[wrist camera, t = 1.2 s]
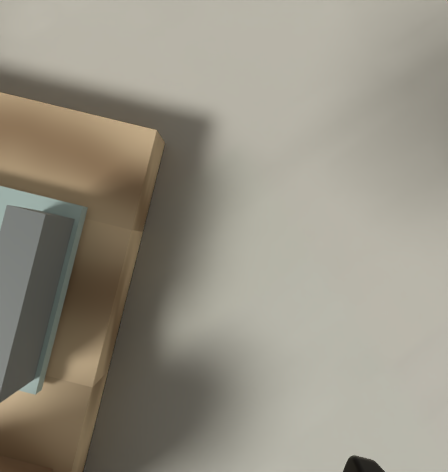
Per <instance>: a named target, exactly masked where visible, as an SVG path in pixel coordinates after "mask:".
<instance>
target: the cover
mask: <svg viewBox="0 0 448 472" xmlns="http://www.w3.org/2000/svg"><path fill="white" fill-rule="evenodd" d="M87 209H88V207H84V206H80V205H76V204H72V203H68V202H64V201H60V200H56V199H52V198H48V197H44V196H40V195H36V194H31V193H27V192H23V191H19V190H15V189H11V188H7V187H3V186H0V403H1V402H2V401H4V400H5V399H7V398H8V397H9V396H11V395H12V394H14V393H15V392H17V391H18V390H19V391H23V392H27V393H31V394H35V395H36V394H37V393H38V392H40V391H41V390H42V387H43V383H44V379H45V375H46V371H47V367H48V363H49V359H50V356H51V352H52V348H53V344H54V340H55V336H56V332H57V328H58V324H59V320H60V316H61V312H62V308H63V304H64V300H65V296H66V292H67V288H68V284H69V280H70V276H71V272H72V268H73V264H74V260H75V256H76V252H77V248H78V244H79V240H80V236H81V233H82V229H83V225H84V221H85V217H86V213H87Z"/></svg>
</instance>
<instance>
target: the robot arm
mask: <svg viewBox="0 0 448 472" xmlns="http://www.w3.org/2000/svg"><path fill="white" fill-rule="evenodd" d="M343 472H385V471H384V470H383V469H382V468H381V467H380V466H379V465H378V464H377V463H376V462H375V461H374V460H371V459H367V458H363V457H359V456H355V455H353V456H351V457H350V458H349V459H348V460H347V463H346V465H345V468H344V470H343Z"/></svg>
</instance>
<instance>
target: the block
mask: <svg viewBox="0 0 448 472" xmlns="http://www.w3.org/2000/svg"><path fill="white" fill-rule="evenodd" d="M52 471H53V469H51V468H47V467H43V466H39V465H36V464H32V463H28V462H24V461H20V460H16V459H12V458H8V457H4V456H1V455H0V472H52Z"/></svg>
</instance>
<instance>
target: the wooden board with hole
mask: <svg viewBox="0 0 448 472" xmlns="http://www.w3.org/2000/svg"><path fill="white" fill-rule="evenodd" d="M164 145H165V142H164V141H163V139H162V138H161V136H160V134H159V133H158V131H157V130H154V129H150V128H146V127H142V126H138V125H134V124H129V123H125V122H121V121H117V120H113V119H109V118H105V117H101V116H96V115H92V114H88V113H84V112H80V111H76V110H72V109H68V108H63V107H59V106H55V105H51V104H47V103H43V102H39V101H35V100H30V99H26V98H22V97H18V96H14V95H10V94H6V93H2V92H0V186H3V187H7V188H11V189H15V190H19V191H23V192H27V193H31V194H36V195H40V196H44V197H48V198H52V199H56V200H60V201H64V202H68V203H72V204H76V205H80V206H84V207H88V209H87V213H86V217H85V221H84V225H83V229H82V233H81V236H80V240H79V244H78V248H77V252H76V256H75V260H74V264H73V268H72V272H71V276H70V280H69V284H68V288H67V292H66V296H65V300H64V304H63V308H62V312H61V316H60V320H59V324H58V328H57V332H56V336H55V340H54V344H53V348H52V352H51V356H50V359H49V363H48V367H47V371H46V375H45V379H44V383H43V387H42V390H41V391H40V392H38V393H37V394H36V395H35V394H31V393H27V392H23V391H19V390H18V391H17V392H15V393H14V394H12V395H11V396H9V397H8V398H7V399H5V400H4V401H2V402H1V403H0V455H1V456H4V457H8V458H12V459H16V460H20V461H24V462H28V463H32V464H36V465H39V466H43V467H47V468H51V469H53V471H52V472H83V470H84V466H85V462H86V458H87V454H88V450H89V446H90V442H91V438H92V434H93V430H94V426H95V422H96V418H97V414H98V410H99V406H100V402H101V398H102V394H103V390H104V386H105V382H106V378H107V374H108V370H109V366H110V362H111V358H112V354H113V350H114V346H115V342H116V338H117V334H118V330H119V326H120V322H121V318H122V314H123V310H124V306H125V302H126V298H127V294H128V290H129V286H130V282H131V278H132V274H133V270H134V266H135V262H136V258H137V254H138V250H139V246H140V242H141V238H142V234H143V230H144V226H145V222H146V218H147V214H148V210H149V206H150V202H151V197H152V193H153V189H154V185H155V181H156V177H157V173H158V169H159V165H160V161H161V157H162V153H163V149H164Z"/></svg>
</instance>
